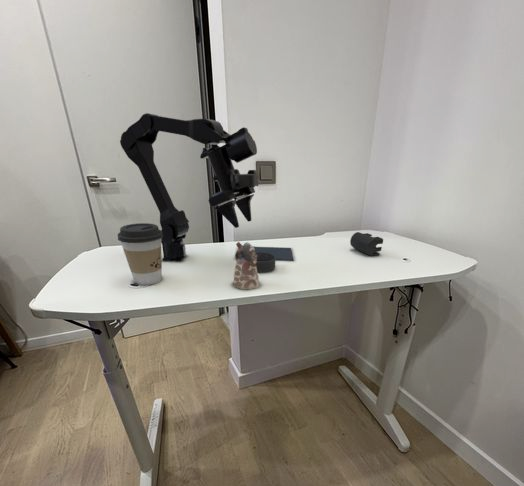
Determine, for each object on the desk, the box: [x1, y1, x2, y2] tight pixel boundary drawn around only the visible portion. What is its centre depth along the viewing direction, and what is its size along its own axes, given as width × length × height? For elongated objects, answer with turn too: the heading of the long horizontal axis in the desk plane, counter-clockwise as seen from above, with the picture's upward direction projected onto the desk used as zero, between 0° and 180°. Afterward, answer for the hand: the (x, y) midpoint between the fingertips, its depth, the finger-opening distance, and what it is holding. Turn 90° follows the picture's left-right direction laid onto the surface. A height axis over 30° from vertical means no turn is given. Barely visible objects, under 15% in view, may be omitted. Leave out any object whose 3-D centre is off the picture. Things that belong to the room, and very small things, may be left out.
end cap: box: [349, 231, 384, 257], centre depth 109 cm, size 10×7×7 cm
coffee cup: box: [117, 222, 163, 286], centre depth 79 cm, size 11×11×15 cm
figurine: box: [233, 241, 260, 291], centre depth 79 cm, size 7×7×12 cm
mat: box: [238, 246, 295, 262], centre depth 106 cm, size 20×14×1 cm
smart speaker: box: [256, 253, 277, 273], centre depth 92 cm, size 9×9×4 cm
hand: (243, 224), depth 85 cm, fingers open, 9 cm apart
